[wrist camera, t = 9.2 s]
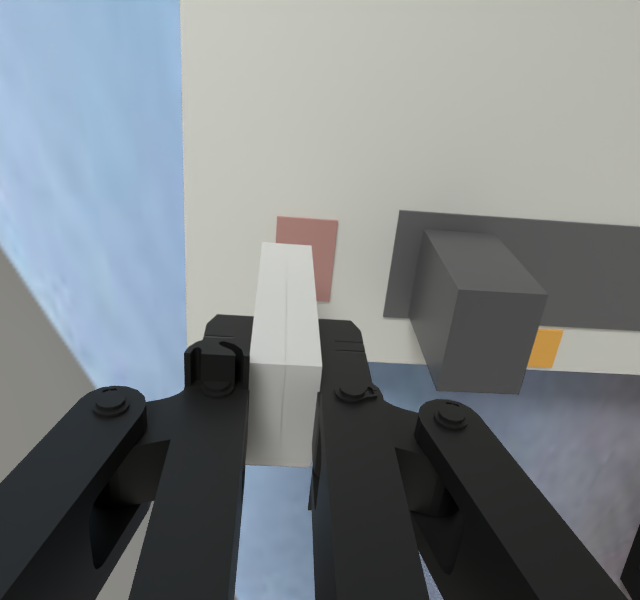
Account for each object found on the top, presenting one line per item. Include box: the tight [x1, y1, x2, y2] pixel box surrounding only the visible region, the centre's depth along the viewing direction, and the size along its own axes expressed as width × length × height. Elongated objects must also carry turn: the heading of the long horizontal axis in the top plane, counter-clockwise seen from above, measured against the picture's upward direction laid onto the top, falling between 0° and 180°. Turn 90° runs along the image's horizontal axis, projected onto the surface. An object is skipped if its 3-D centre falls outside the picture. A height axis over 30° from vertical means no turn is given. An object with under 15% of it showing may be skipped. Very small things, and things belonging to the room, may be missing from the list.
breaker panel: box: [180, 0, 640, 375], centre depth 19 cm, size 20×26×3 cm
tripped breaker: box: [408, 229, 548, 394], centre depth 18 cm, size 3×2×4 cm
